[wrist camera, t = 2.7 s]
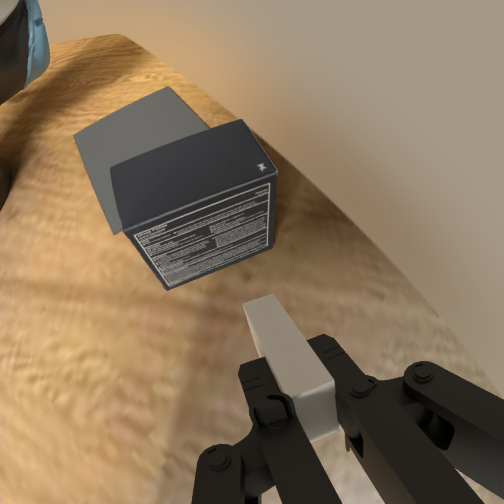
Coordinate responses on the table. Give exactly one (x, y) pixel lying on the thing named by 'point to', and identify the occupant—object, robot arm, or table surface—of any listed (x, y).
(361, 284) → the table surface
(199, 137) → the small box
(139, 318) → the table surface
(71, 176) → the table surface
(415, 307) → the table surface
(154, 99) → the mat
